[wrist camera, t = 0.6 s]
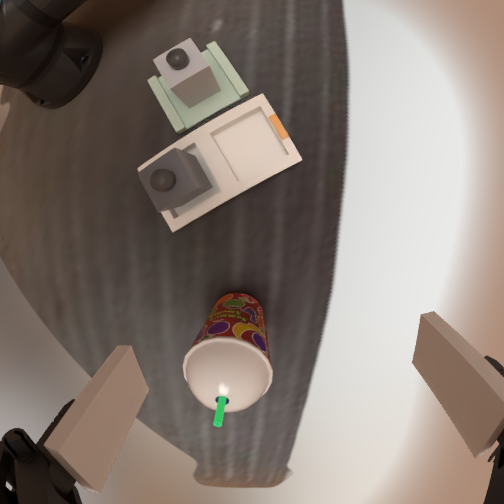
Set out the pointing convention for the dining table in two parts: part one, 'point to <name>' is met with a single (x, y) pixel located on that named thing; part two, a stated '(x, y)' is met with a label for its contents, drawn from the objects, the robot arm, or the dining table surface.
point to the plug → (187, 73)
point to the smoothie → (230, 357)
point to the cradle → (228, 95)
